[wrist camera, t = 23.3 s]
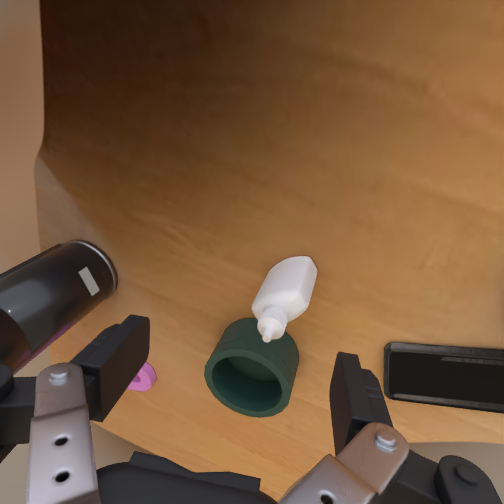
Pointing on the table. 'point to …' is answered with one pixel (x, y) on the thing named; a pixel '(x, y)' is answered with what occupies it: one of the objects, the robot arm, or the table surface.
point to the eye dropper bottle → (284, 295)
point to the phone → (445, 376)
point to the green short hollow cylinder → (252, 370)
